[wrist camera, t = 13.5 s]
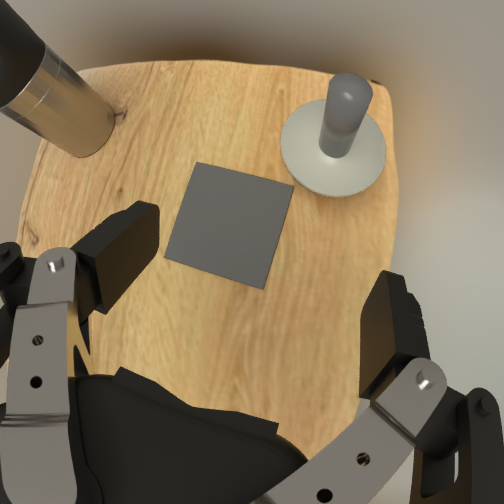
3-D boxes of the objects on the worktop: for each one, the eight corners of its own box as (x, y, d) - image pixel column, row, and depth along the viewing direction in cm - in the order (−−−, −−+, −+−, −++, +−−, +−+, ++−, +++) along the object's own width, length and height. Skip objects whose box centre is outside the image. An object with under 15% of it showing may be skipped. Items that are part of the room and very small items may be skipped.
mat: (165, 257, 36) (164, 257, 36) (197, 162, 36) (196, 161, 36) (262, 289, 34) (262, 289, 34) (294, 187, 35) (294, 186, 35)
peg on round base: (268, 180, 28) (257, 131, 18) (295, 94, 29) (295, 27, 19) (373, 211, 27) (412, 177, 17) (389, 121, 27) (422, 63, 17)
